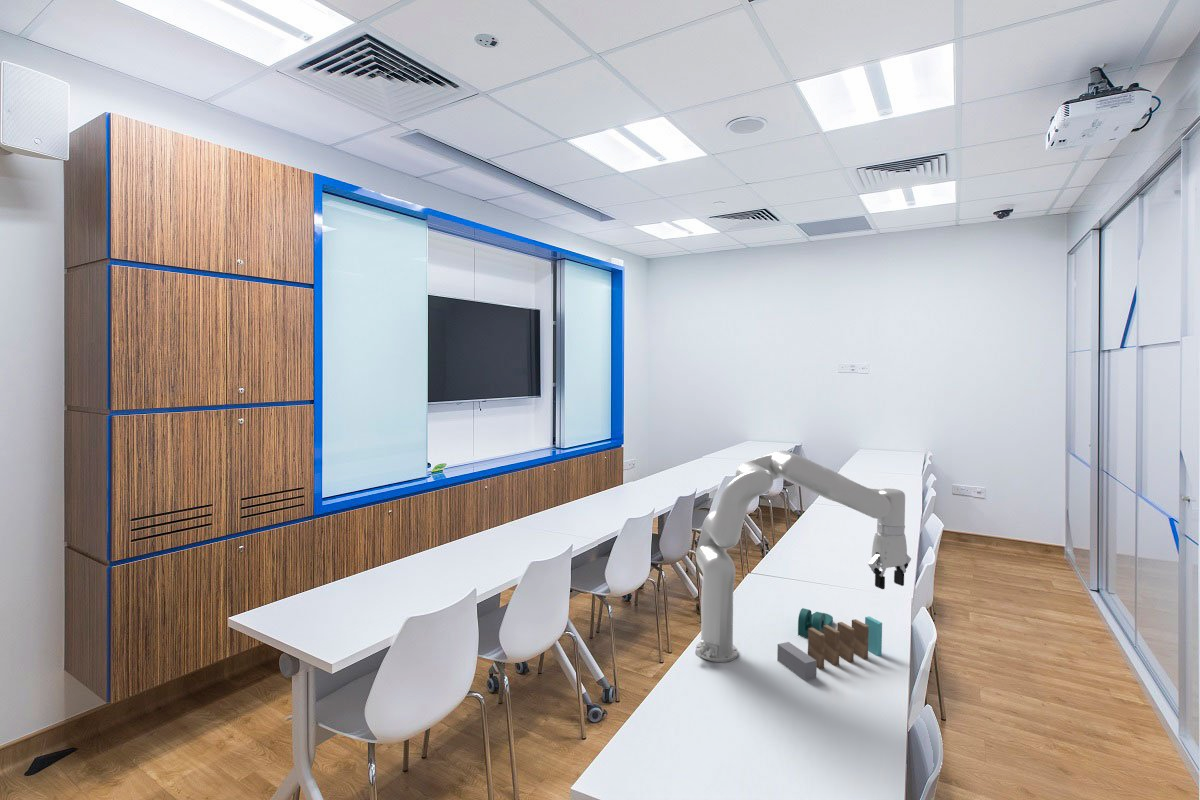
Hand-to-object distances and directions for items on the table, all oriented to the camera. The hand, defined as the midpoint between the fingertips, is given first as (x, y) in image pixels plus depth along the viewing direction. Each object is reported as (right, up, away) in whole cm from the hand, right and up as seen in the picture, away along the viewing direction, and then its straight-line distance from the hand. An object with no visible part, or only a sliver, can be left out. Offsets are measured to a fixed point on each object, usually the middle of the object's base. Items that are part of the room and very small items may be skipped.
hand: (889, 585), depth 178 cm
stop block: (-33, -21, -11) cm, 40 cm away
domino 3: (-16, -20, -5) cm, 26 cm away
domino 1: (-26, -20, -9) cm, 34 cm away
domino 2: (-21, -20, -7) cm, 30 cm away
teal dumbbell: (-17, -20, +15) cm, 30 cm away
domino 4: (-11, -20, -3) cm, 23 cm away
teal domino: (-6, -20, -1) cm, 21 cm away
